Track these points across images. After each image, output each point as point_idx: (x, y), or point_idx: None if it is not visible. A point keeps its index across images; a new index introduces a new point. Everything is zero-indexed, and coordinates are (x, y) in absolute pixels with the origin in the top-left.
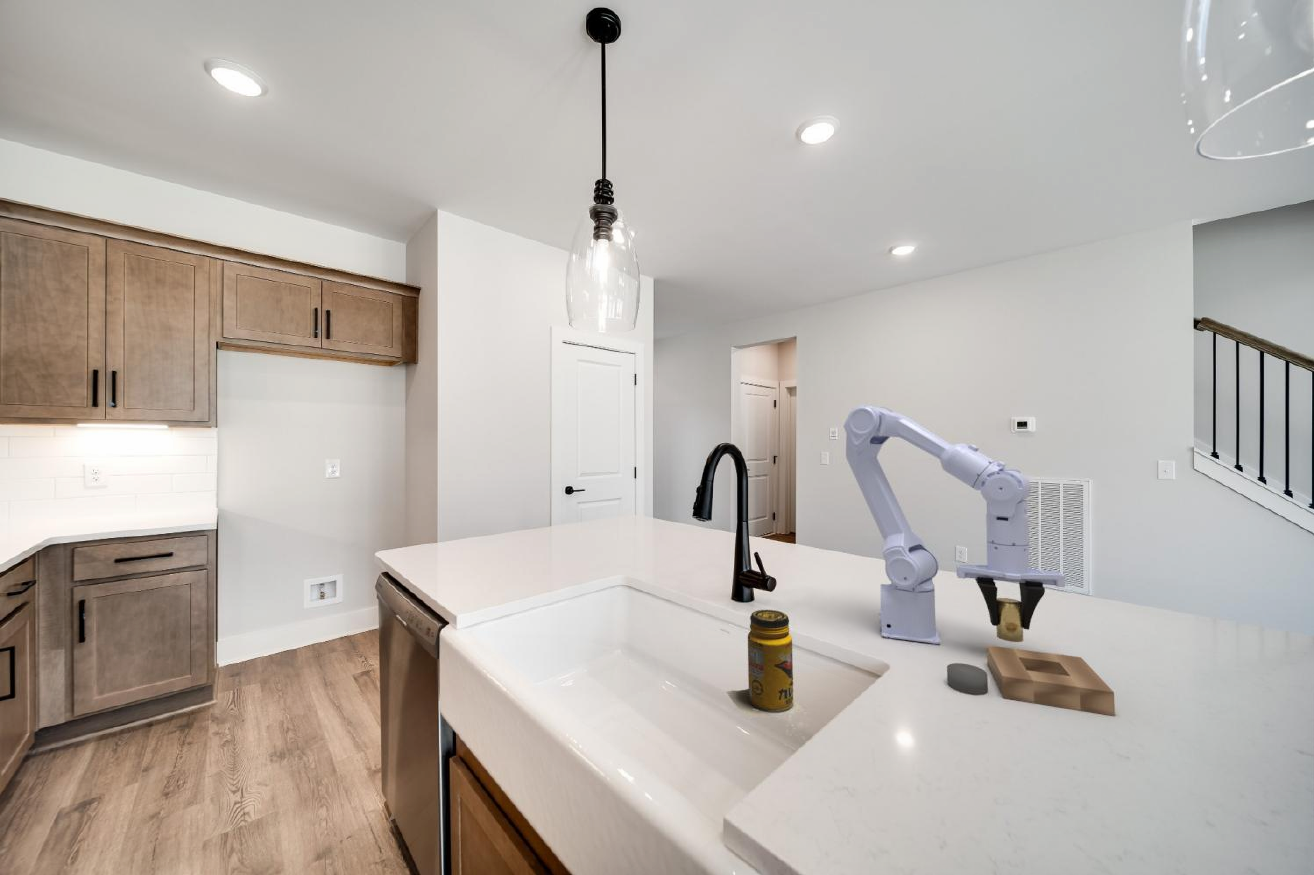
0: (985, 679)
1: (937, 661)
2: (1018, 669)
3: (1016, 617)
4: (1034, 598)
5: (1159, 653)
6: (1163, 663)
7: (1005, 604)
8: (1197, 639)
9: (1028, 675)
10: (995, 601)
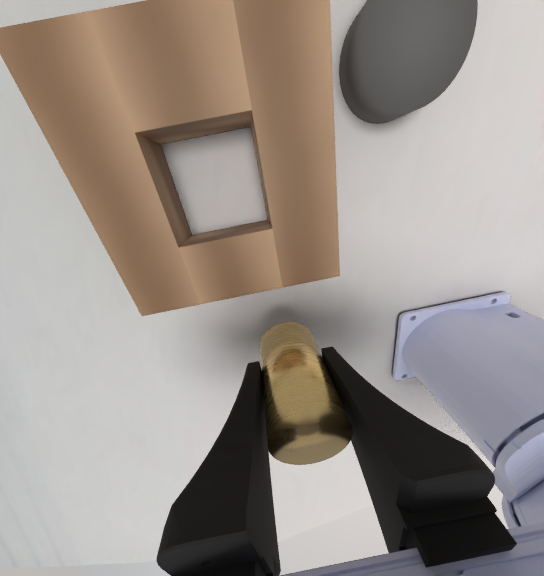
0: (366, 3)
1: (422, 216)
2: (274, 101)
3: (280, 376)
4: (219, 467)
5: (82, 454)
6: (67, 424)
7: (323, 407)
8: (58, 514)
9: (246, 49)
10: (362, 407)
